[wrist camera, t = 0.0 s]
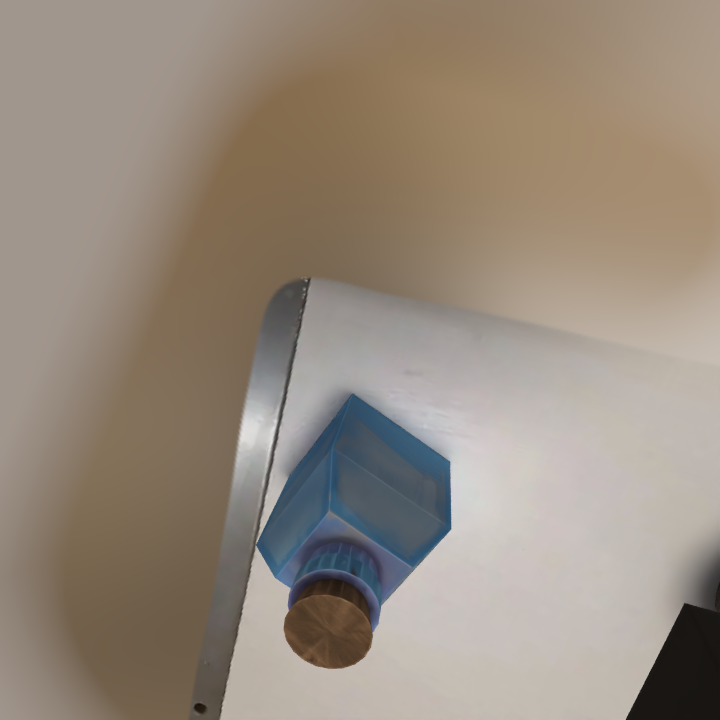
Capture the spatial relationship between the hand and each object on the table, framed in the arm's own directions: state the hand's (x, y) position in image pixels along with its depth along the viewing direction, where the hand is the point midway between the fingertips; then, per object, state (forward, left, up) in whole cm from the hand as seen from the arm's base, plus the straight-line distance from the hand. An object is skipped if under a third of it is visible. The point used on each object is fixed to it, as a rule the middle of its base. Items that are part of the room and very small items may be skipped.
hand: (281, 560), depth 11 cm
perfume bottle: (+9, -3, -21) cm, 23 cm away
